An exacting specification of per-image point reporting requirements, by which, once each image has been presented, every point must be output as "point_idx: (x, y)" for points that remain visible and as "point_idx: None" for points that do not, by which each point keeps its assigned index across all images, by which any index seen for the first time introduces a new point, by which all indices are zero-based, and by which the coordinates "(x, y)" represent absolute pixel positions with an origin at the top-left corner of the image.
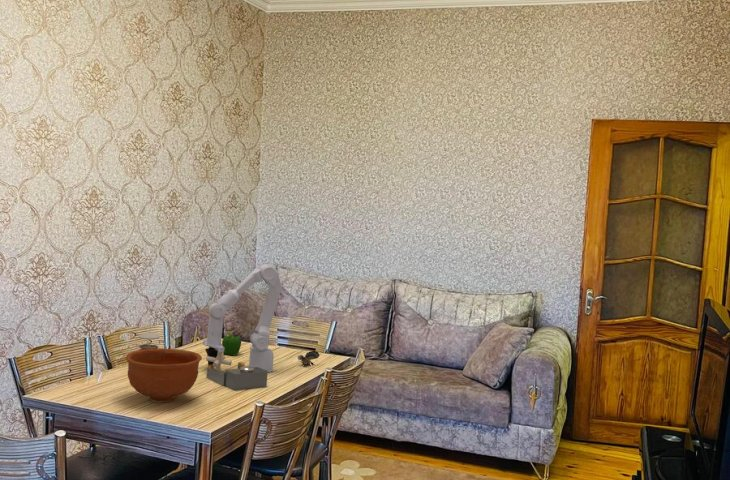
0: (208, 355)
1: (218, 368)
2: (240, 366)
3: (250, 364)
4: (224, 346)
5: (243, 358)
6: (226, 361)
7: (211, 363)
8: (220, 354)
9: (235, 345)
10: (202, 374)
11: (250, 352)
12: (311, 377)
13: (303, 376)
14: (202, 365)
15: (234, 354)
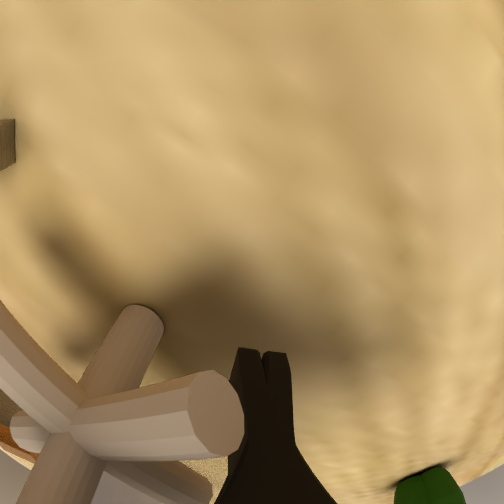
0: (266, 473)
1: (97, 351)
2: (8, 422)
3: (111, 480)
4: (444, 492)
5: (348, 491)
6: (22, 431)
7: (234, 388)
8: (21, 493)
9: None
10: (154, 158)
11: None
12: (15, 458)
13: (25, 460)
14: (433, 357)
15: (400, 484)
